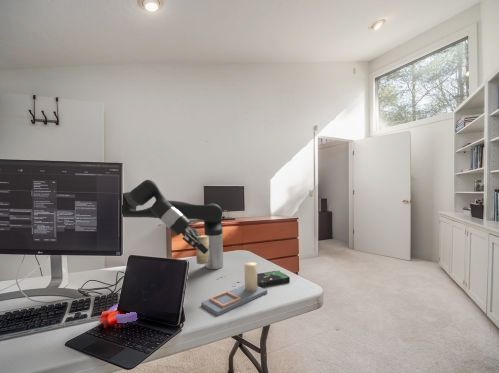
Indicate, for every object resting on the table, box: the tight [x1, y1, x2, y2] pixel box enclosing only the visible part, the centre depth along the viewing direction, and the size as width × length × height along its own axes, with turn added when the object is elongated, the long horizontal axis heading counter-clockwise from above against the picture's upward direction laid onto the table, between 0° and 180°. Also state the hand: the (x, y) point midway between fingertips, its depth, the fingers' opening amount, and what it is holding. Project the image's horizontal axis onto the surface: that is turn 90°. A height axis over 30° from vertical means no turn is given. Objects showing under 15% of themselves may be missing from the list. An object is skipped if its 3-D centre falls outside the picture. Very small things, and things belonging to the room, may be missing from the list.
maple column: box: [195, 234, 209, 265], centre depth 101 cm, size 5×5×10 cm
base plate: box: [200, 262, 268, 316], centre depth 96 cm, size 10×24×11 cm, turn 133°
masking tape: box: [107, 303, 138, 323], centre depth 84 cm, size 12×12×4 cm
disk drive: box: [257, 270, 291, 288], centre depth 113 cm, size 10×3×15 cm
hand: (207, 250), depth 101 cm, fingers closed on maple column, 5 cm apart
